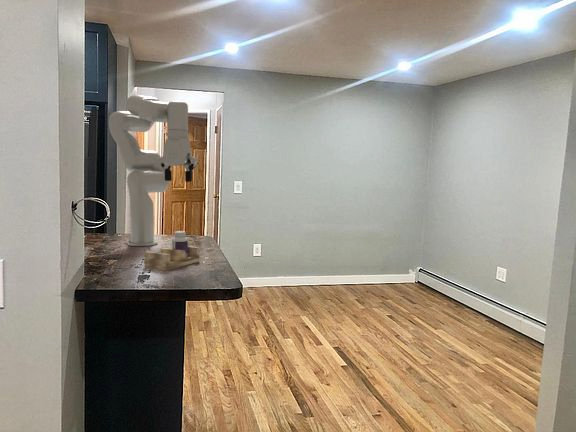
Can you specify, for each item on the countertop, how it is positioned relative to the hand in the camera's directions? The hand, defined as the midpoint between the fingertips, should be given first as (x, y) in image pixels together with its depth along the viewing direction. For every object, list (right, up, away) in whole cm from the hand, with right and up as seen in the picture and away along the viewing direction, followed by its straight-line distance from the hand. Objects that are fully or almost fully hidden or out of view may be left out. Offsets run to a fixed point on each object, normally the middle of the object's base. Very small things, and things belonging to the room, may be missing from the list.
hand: (178, 181), depth 175 cm
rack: (+1, -30, -13) cm, 33 cm away
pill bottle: (+3, -29, -10) cm, 30 cm away
